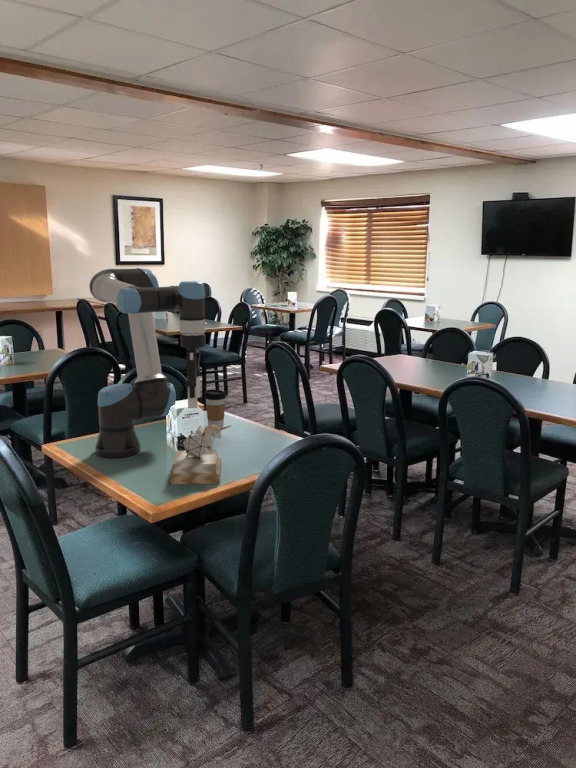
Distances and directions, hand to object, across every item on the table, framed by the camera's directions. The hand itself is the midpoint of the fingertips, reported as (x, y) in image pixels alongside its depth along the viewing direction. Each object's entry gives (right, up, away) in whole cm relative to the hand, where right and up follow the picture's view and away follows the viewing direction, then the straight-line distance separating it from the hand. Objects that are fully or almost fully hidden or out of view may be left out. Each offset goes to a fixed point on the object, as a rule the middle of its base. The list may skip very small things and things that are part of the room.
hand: (194, 402), depth 191 cm
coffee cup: (0, -12, +57) cm, 58 cm away
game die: (0, -17, +4) cm, 18 cm away
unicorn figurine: (+4, -20, +22) cm, 30 cm away
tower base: (0, -23, +5) cm, 24 cm away
